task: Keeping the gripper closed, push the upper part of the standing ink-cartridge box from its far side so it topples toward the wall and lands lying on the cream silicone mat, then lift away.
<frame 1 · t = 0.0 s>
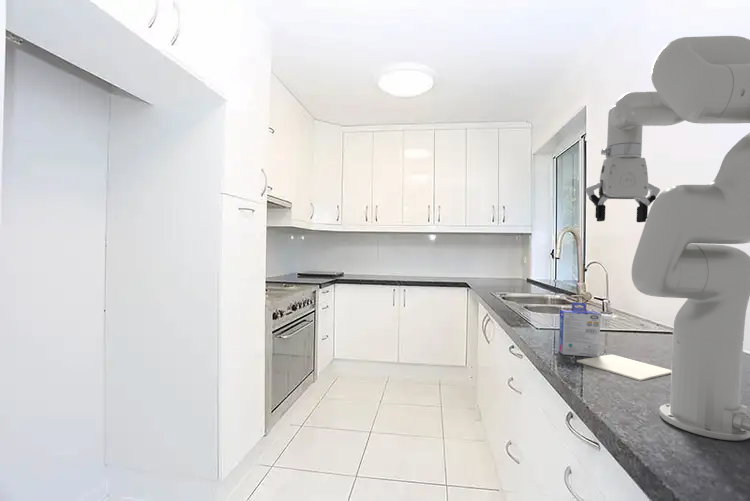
hand: (620, 221, 103), 37 cm above the countertop, tool pointing down, fingers open, 9 cm apart
ink cartridge box: (578, 354, 116), on the countertop
cream mat: (624, 367, 104), on the countertop
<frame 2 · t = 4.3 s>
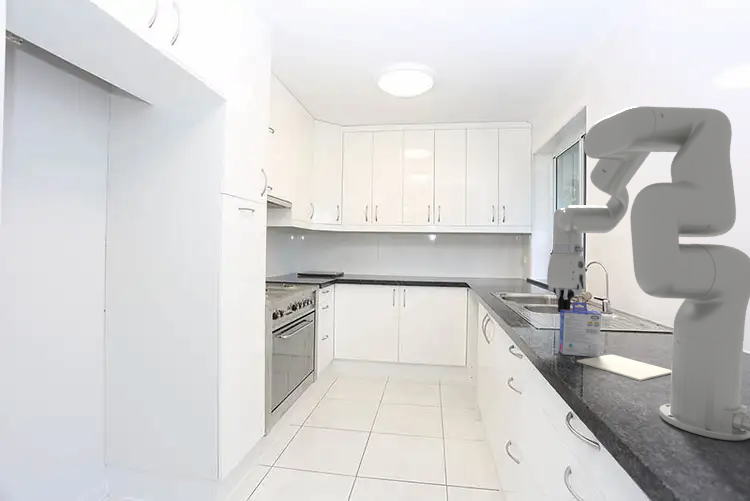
hand: (563, 312, 120), 11 cm above the countertop, tool pointing down, fingers closed
ink cartridge box: (578, 354, 116), on the countertop, touching gripper
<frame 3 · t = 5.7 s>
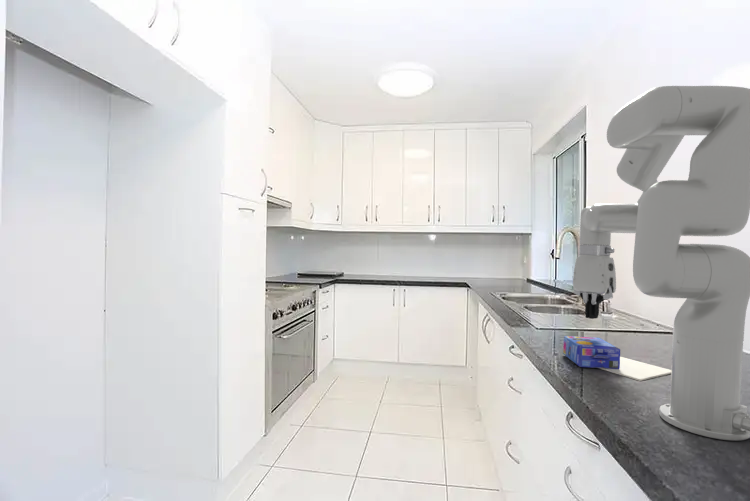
hand: (591, 317, 112), 11 cm above the countertop, tool pointing down, fingers closed
ink cartridge box: (580, 344, 113), point 3 cm above the countertop, touching cream mat
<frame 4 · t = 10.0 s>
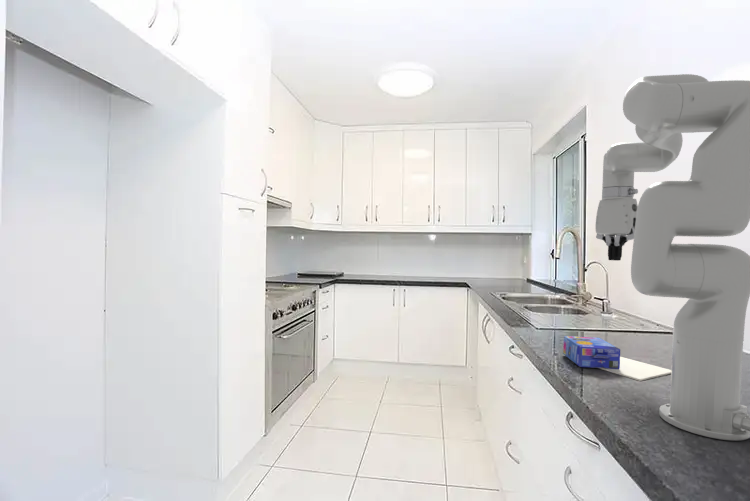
hand: (614, 260, 114), 27 cm above the countertop, tool pointing down, fingers closed
nothing on the countertop moved.
at the end: ink cartridge box tilted 91°; ink cartridge box inside the target area (8.8 cm from its centre), point 3.1 cm above the countertop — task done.
